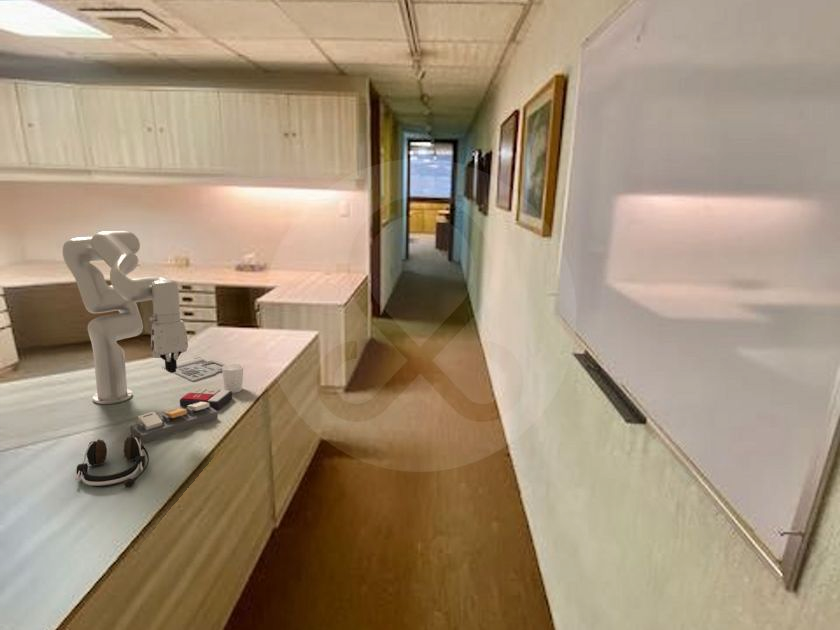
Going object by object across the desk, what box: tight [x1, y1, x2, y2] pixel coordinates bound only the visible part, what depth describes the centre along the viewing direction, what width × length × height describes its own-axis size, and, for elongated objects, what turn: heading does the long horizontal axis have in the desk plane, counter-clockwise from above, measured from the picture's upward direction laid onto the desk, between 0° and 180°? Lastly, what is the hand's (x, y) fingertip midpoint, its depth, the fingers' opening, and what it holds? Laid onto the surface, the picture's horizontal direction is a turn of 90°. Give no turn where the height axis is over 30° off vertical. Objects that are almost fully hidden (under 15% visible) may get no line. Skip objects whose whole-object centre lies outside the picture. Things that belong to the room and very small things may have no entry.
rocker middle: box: [163, 407, 187, 418], centre depth 161 cm, size 5×6×2 cm
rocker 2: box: [186, 402, 210, 411], centre depth 167 cm, size 5×6×2 cm
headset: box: [75, 434, 150, 488], centre depth 134 cm, size 17×8×20 cm
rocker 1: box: [138, 411, 162, 430], centre depth 155 cm, size 5×6×2 cm
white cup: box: [221, 362, 244, 394], centre depth 192 cm, size 8×8×10 cm
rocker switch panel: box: [129, 402, 219, 445], centre depth 161 cm, size 25×9×5 cm, turn 142°
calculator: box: [179, 387, 233, 412], centre depth 180 cm, size 11×4×15 cm
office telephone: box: [161, 356, 226, 383], centre depth 212 cm, size 23×3×20 cm
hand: (171, 371), depth 158 cm, fingers closed
